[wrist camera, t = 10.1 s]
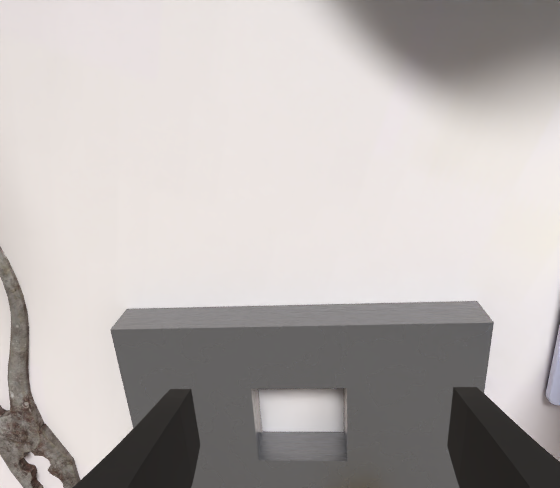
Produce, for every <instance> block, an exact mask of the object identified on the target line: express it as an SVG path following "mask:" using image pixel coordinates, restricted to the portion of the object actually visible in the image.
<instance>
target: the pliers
mask: <svg viewBox="0 0 560 488" xmlns="http://www.w3.org/2000/svg"><path fill="white" fill-rule="evenodd" d="M0 277H1V279H2V281H3V284H4V287H5V290H6V293H7V296H8V300H9V305H10V311H11V341H10V355H9V363H8V386H9V396H10V406H11V407H10V410H9V411H8V412H7V411H6V410H4V409H3V408H2V407H1V406H0V455H1V456H2V458H3V460H4V461H5V463H6V464H7V466H8V468H9V469H10V471H11V472H12V474H13V475H14V476H15V477H16V479H17V480H18V481H19V482H20V484H21V485H22V486H23V488H43V485H41V484H40V482H38V481H37V480H36V473H37V469H36V466H34V465H31V464H28V463H27V462H26V461H25V459H24V457H25V456H26V455H27V453H28V452H32V453H33V454H34V455H36V456H43V457H45V458H47V459H48V460H49V461H50V464H51V466H50V467H49V469H48V471H49V472H50V473H51V474H52V475H53V476H55V477H57V478H59V479H60V480H61V481H62V483H63V487H64V488H72V487H74V486H75V485H76V484H77V483H78V482H79V481H80V478H79V475H78V471H77V468H76V465H75V461H74V458H73V457H72V456H71V455H70V453H69V452H68V451H67V450H66V448H65V447H64V446H63V445H62V444H61V442H60V441H59V440H58V439H57V437H56V436H55V435H54V434H53V432H52V431H51V430H50V429H49V427H48V426H47V425H46V424H43V423H44V422H43V419H42V417H41V415H40V413H39V411H38V408H37V406H36V404H35V403H34V400H33V397H32V394H31V391H30V384H29V373H28V349H29V326H28V314H27V309H26V305H25V300H24V296H23V293H22V291H21V288H20V285H19V283H18V280H17V278H16V275H15V273H14V271H13V269H12V267H11V265H10V263H9V261H8V259H7V257H6V256H5V254H4V252H3V251H2V249H1V247H0Z"/></svg>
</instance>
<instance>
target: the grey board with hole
mask: <svg viewBox="0 0 560 488" xmlns="http://www.w3.org/2000/svg"><path fill="white" fill-rule="evenodd" d="M493 323H494V322H493V321H492V320H491V319H490V317H489V316H488V315H487V313H486V312H485V311H484V310H483V308H482V307H481V306H480V304H479V303H478V302H477V301H467V302H422V303H377V304H332V305H287V306H242V307H197V308H152V309H127V310H126V311H125V312H124V313H123V315H122V316H121V317H120V318H119V320H118V321H117V322H116V323H115V325H114V326H113V327H112V328H111V334H112V338H113V343H114V347H115V351H116V355H117V360H118V364H119V368H120V373H121V377H122V381H123V385H124V390H125V394H126V398H127V403H128V407H129V411H130V415H131V420H132V424H133V428H134V427H135V426H136V425H137V424H138V423H139V422H140V421H141V420H142V419H143V418H144V417H145V416H146V415H147V413H148V412H149V411H150V410H151V409H152V408H153V407H154V406H155V405H156V404H157V403H158V401H159V400H160V399H161V398H162V397H163V396H164V395H165V394H166V393H167V392H168V391H169V390H170V389H191V390H192V396H193V402H194V409H195V415H196V421H197V427H198V433H199V439H200V449H199V455H198V460H197V465H196V470H195V474H194V479H193V483H192V486H191V488H459V485H458V482H457V479H456V475H455V472H454V468H453V465H452V461H451V458H450V454H449V450H448V447H447V443H448V433H449V424H450V414H451V405H452V395H453V387H477V388H479V389H480V390H481V391H482V392H483V393H484V389H485V381H486V374H487V367H488V360H489V352H490V345H491V338H492V331H493ZM294 388H344V432H262V426H261V415H260V405H259V395H258V389H294Z"/></svg>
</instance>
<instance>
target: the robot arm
mask: <svg viewBox="0 0 560 488" xmlns="http://www.w3.org/2000/svg"><path fill="white" fill-rule="evenodd" d="M546 397H547V399H548V400H549V402H550V403H552V404H553V405H560V326H559V331H558V336H557V341H556V345H555V350H554V355H553V360H552V365H551V370H550V375H549V380H548V385H547V390H546ZM447 447H448V450H449V454H450V458H451V461H452V465H453V468H454V472H455V475H456V479H457V482H458V485H459V488H560V462H559V461H558V460H557V459H555V458H554V457H553V456H552V455H551V454H549V453H548V452H547V451H546V450H545V449H544V448H543V447H541V446H540V445H539V444H538V443H537V442H536V441H535V440H533V439H532V438H531V437H530V436H529V435H528V434H527V433H526V432H525V431H523V430H522V429H521V428H520V427H519V426H518V425H517V424H516V423H515V422H514V421H513V420H512V419H510V418H509V417H508V416H507V415H506V414H505V413H504V412H503V411H502V410H501V409H500V408H499V407H498V406H497V405H496V404H495V403H493V402H492V401H491V400H490V399H489V398H488V397H487V396H486V395H485V394H484V393H483V392H482V391H481V390H480V389H479V388H477V387H453V395H452V405H451V414H450V424H449V433H448V443H447ZM199 449H200V439H199V433H198V427H197V421H196V415H195V409H194V402H193V396H192V390H191V389H170V390H169V391H168V392H167V393H166V394H165V395H164V396H163V397H162V398H161V399H160V400H159V401H158V403H157V404H156V405H155V406H154V407H153V408H152V409H151V410H150V411H149V412H148V413H147V415H146V416H145V417H144V418H143V419H142V420H141V421H140V422H139V423H138V424H137V425H136V426H135V427H134V429H133V430H132V431H131V432H130V433H129V434H128V435H127V436H126V437H125V438H124V439H123V440H122V441H121V442H120V443H119V444H118V445H117V446H116V447H115V448H114V449H113V450H112V451H111V452H110V453H109V454H108V455H107V456H106V457H105V458H104V459H103V460H102V461H101V462H100V463H99V464H98V465H97V466H96V467H94V468H93V469H92V470H91V471H90V472H89V473H88V474H87V475H86V476H85V477H84V478H83V479H82V480H80V481H79V482H78V483H77V484H76V485H75V486H74V487H72V488H191V486H192V483H193V479H194V474H195V470H196V465H197V460H198V455H199Z"/></svg>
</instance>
